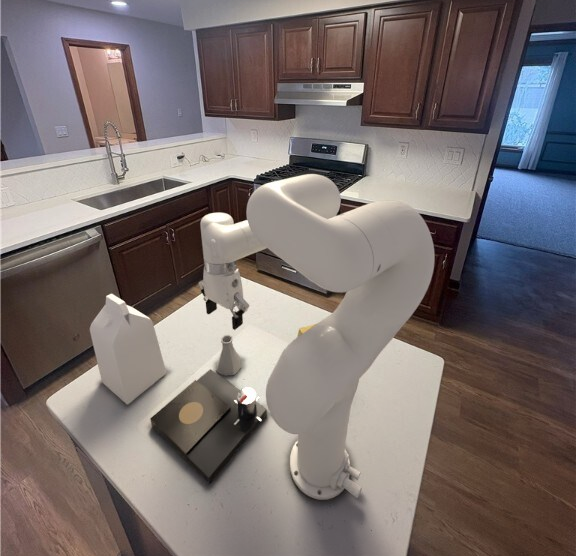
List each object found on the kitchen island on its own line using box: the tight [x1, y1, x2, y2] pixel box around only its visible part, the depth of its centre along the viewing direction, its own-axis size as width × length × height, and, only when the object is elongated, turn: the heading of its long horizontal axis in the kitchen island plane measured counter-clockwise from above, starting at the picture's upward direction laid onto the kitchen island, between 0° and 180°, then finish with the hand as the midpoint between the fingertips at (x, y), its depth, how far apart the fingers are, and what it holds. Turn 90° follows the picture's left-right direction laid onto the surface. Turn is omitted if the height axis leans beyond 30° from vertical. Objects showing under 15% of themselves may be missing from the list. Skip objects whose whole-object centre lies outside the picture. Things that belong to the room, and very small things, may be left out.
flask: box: [215, 334, 242, 376], centre depth 87 cm, size 7×7×10 cm
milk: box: [89, 293, 167, 406], centre depth 80 cm, size 12×12×26 cm
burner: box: [149, 379, 231, 455], centre depth 73 cm, size 13×13×1 cm
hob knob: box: [237, 387, 257, 419], centre depth 73 cm, size 4×4×5 cm
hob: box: [150, 368, 268, 484], centre depth 74 cm, size 21×19×2 cm
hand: (224, 318), depth 83 cm, fingers open, 9 cm apart
